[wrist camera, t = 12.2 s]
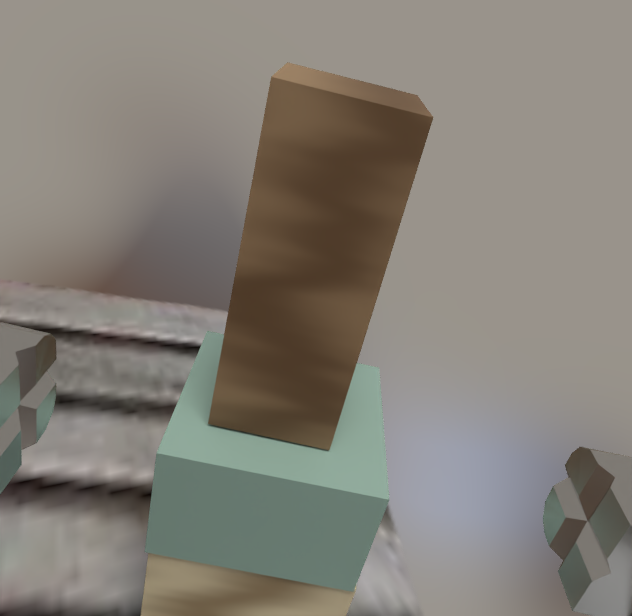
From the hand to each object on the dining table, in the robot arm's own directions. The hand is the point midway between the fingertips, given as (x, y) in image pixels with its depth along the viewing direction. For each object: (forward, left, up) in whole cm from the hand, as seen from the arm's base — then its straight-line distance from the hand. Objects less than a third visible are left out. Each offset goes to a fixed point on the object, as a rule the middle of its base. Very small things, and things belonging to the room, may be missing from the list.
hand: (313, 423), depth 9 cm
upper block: (0, +12, -14) cm, 18 cm away
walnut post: (0, +12, -9) cm, 14 cm away
